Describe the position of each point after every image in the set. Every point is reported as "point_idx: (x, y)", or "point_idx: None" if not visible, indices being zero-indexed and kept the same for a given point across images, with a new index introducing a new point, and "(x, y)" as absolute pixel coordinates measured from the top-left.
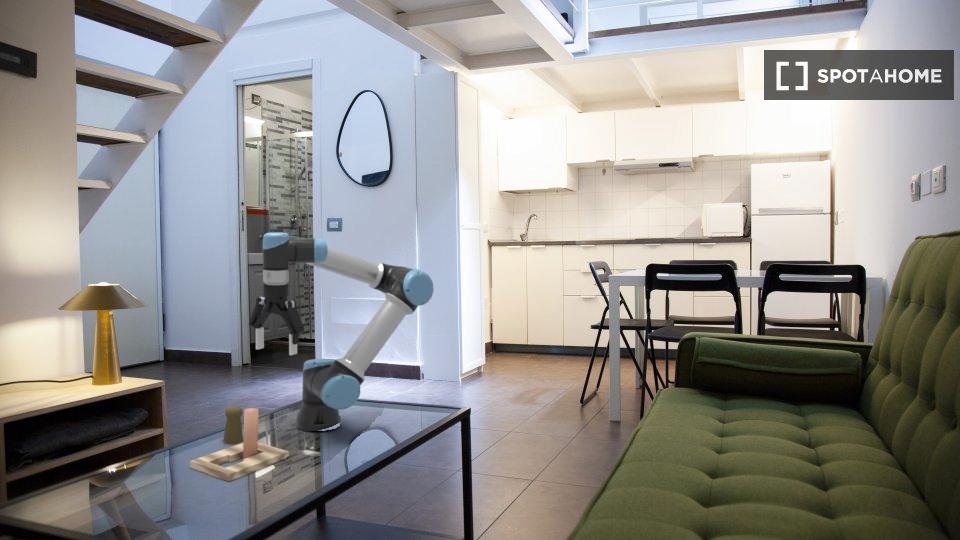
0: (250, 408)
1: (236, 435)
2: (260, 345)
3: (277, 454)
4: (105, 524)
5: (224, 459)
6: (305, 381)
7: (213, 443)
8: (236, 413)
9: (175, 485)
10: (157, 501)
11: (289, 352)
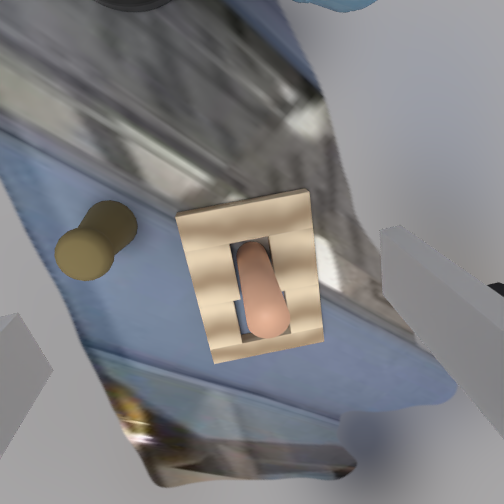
0: (253, 315)
1: (130, 235)
2: (22, 366)
3: (305, 222)
4: (321, 479)
5: (234, 305)
6: None
7: None
8: (111, 260)
9: (271, 394)
10: (305, 426)
11: (396, 305)
